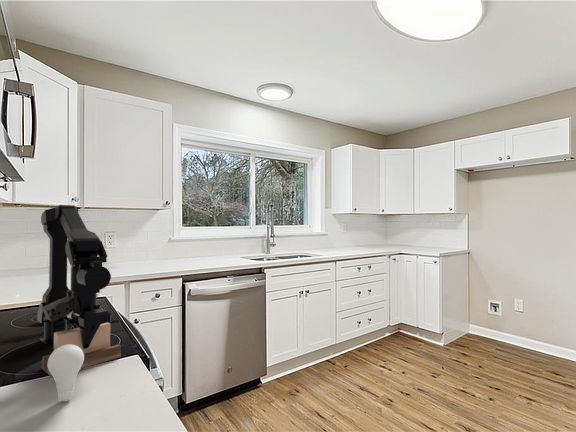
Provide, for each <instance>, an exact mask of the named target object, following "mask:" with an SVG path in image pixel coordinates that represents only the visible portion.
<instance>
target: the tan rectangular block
mask: <svg viewBox="0 0 576 432" xmlns="http://www.w3.org/2000/svg"><path fill="white" fill-rule="evenodd" d="M110 340H111V322H108V323H104V324H101V325H100V326H99V328H98V330H97V332H96V334H95V335H94V337H93V339H92V341H91V343H90V345H89V347H88V348H86V349H84V348H83V345H82V339H81V332H80V329H79V328H73V327H72V328H69V329H67V330H64V331H59V332H55V333H54V343H53V351H54V350H56V349H57V348H59V347H61V346H63V345H68V344H72V345H76V346H78V347H79V348H81V350H82V351H83V353H84V354H86V353H89V352H93V351H97V350H100V349H104V348H108V347H110Z"/></svg>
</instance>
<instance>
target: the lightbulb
mask: <svg viewBox="0 0 576 432" xmlns="http://www.w3.org/2000/svg"><path fill="white" fill-rule="evenodd" d="M49 355H50V354H49ZM83 361H84V353H83V351H82V350H81V348H79V347H78V346H76V345H72V344H68V345H63V346H61V347H59V348H57V349H56V350H54V349H53V351H52V352H51V355H50V357H49V359H48V363H47V367H48V370H49V372H50V373H51V375H52V376H53V379H54V381H55V388H56V390H57V399H58V401H60V402H64V403H65V402H67V401H69V400H70V399H72V398H73V397H74V390H75V389H74V387H75V386H76V380H77V376H78V373H79V372H80V370H81V369H80V368H81V366H82V364H83Z"/></svg>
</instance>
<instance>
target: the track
mask: <svg viewBox="0 0 576 432" xmlns="http://www.w3.org/2000/svg"><path fill="white" fill-rule="evenodd" d="M111 343H112V342H111V339H110V347H108V348H104V349H100V350H97V351H93V352H89V353H86V354H84V361H83V364H82V366H81V368H80V370H83V369H85V368H90V367H92V365H93V366H96V365H99V364H102V363H105V362H108V361H112V360H116V359H119V358H121V357H122V345H121V344H116V345H111ZM51 354H52V353H51ZM51 354H47V355H43V356H42V358H41V362H42V363H41V364H42V365H41V370H43V371H44V372H45V373H46V374H47V375H48V376H50V377H51V378H53V379H54V377H53V376H52V375H51V373H50V372H49V370H48V367H47V363H48V359H49V357H50V355H51Z"/></svg>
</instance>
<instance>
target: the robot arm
mask: <svg viewBox="0 0 576 432" xmlns="http://www.w3.org/2000/svg"><path fill="white" fill-rule="evenodd" d="M79 213H80V212H79V207H78V206H76V205H73V204H71V205H70V204H59V205H56V206H54V207H51V208H48V209H45V210H44V211H42V213H41V217H40V222H41V225H42V227H43V231H44V233H45V234H46V235H47V237H48V239H49V258H48V259H49V265H48V267H49V269H48V270H49V271H48V273H49V275H48V287H47V289H46V290H45V292H44V293H43V294H42V297H41V298H42V299H41V301H42V302H40V304H39V307H38V310H37V313H36V315H37V316H36V317H37V318H36V319H37V322H39V323H40V324H43V325H44V326H43V328H44V329H43V330H44V331H43V332H44V333H43V337H39V341H41V342H42V343H43V344H45V345H49V344H54V333H55V332H59V331H64V330H68V327H67V326H68V323H69V324H70V325H71V327H72V329H73V328H79V329H80V332H81V339H82V345H83V348H84V349H86V348H88V347H89V345H90V343H91V341H92V339H93V337H94V335H95V334H96V332H97V330H98V328H99V326H100V325H101V324H104V323H111V322H112V313H111V312H110V311H109V310H106V309H104V308H101V307H100V306H101V305H100V304H98V303H97V297H98V295H97V294H100V292H101V290H103V289H106V287H107V286H108V285H109V284H110V282H111V279H112V274H111V272H110V270H109V269H108V268H107V267H105V266H103V263H107V262H108V261H107V257H108V254H107V251H106V249H105V246H104V243H103V241H102V240H101V239H100V237H99V236H98V235H97V234H96V233H95V232H94V231H90V230H88V228H87V227H86V225H85V223H84V221H83V219H82V217H81V215H80V214H79ZM68 262H69V264H70V266H71V267H70V288H69V287H68ZM44 316H45V317H44Z"/></svg>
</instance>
